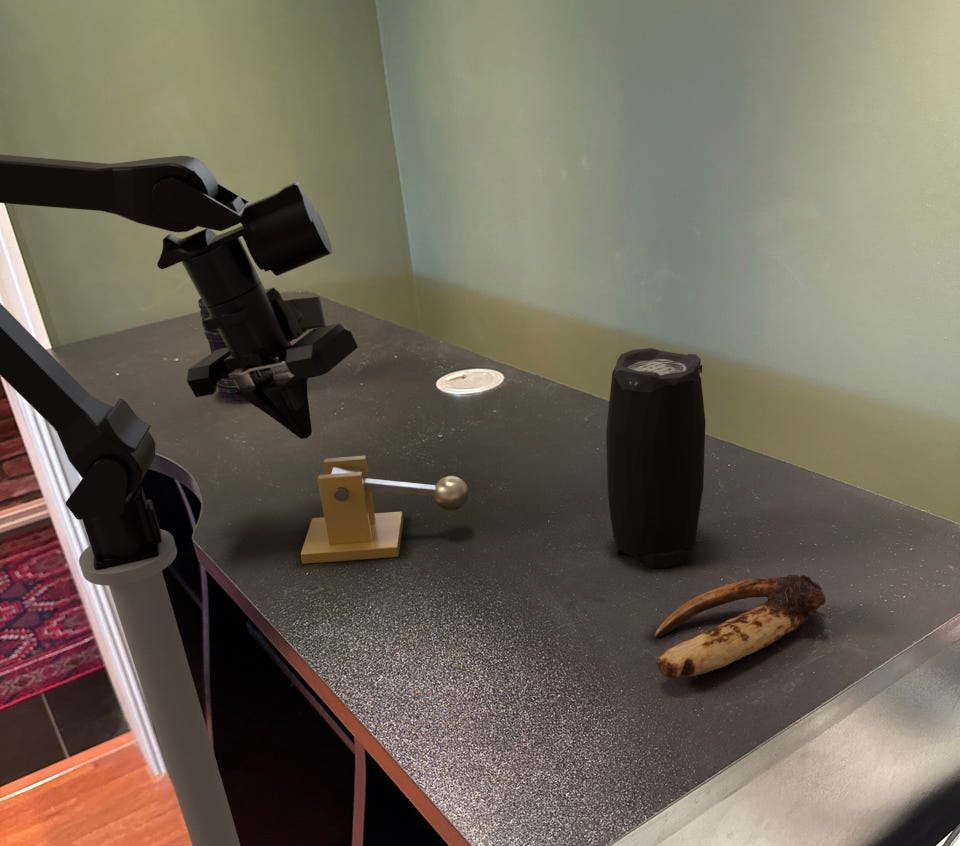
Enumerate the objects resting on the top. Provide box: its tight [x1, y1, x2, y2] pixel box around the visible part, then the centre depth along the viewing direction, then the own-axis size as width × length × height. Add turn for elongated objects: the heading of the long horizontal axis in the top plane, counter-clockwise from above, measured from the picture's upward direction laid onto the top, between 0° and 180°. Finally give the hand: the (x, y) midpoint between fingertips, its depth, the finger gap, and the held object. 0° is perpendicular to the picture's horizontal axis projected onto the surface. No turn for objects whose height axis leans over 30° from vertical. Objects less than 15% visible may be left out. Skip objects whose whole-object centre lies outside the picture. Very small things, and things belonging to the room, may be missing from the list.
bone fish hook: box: [654, 574, 827, 679], centre depth 76 cm, size 9×5×18 cm
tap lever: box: [331, 467, 469, 511], centre depth 94 cm, size 14×4×4 cm, turn 91°
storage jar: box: [197, 297, 277, 404], centre depth 139 cm, size 10×10×18 cm
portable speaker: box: [605, 347, 706, 570], centre depth 86 cm, size 9×9×20 cm
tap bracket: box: [300, 455, 405, 565], centre depth 95 cm, size 10×8×9 cm
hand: (306, 436), depth 93 cm, fingers closed
